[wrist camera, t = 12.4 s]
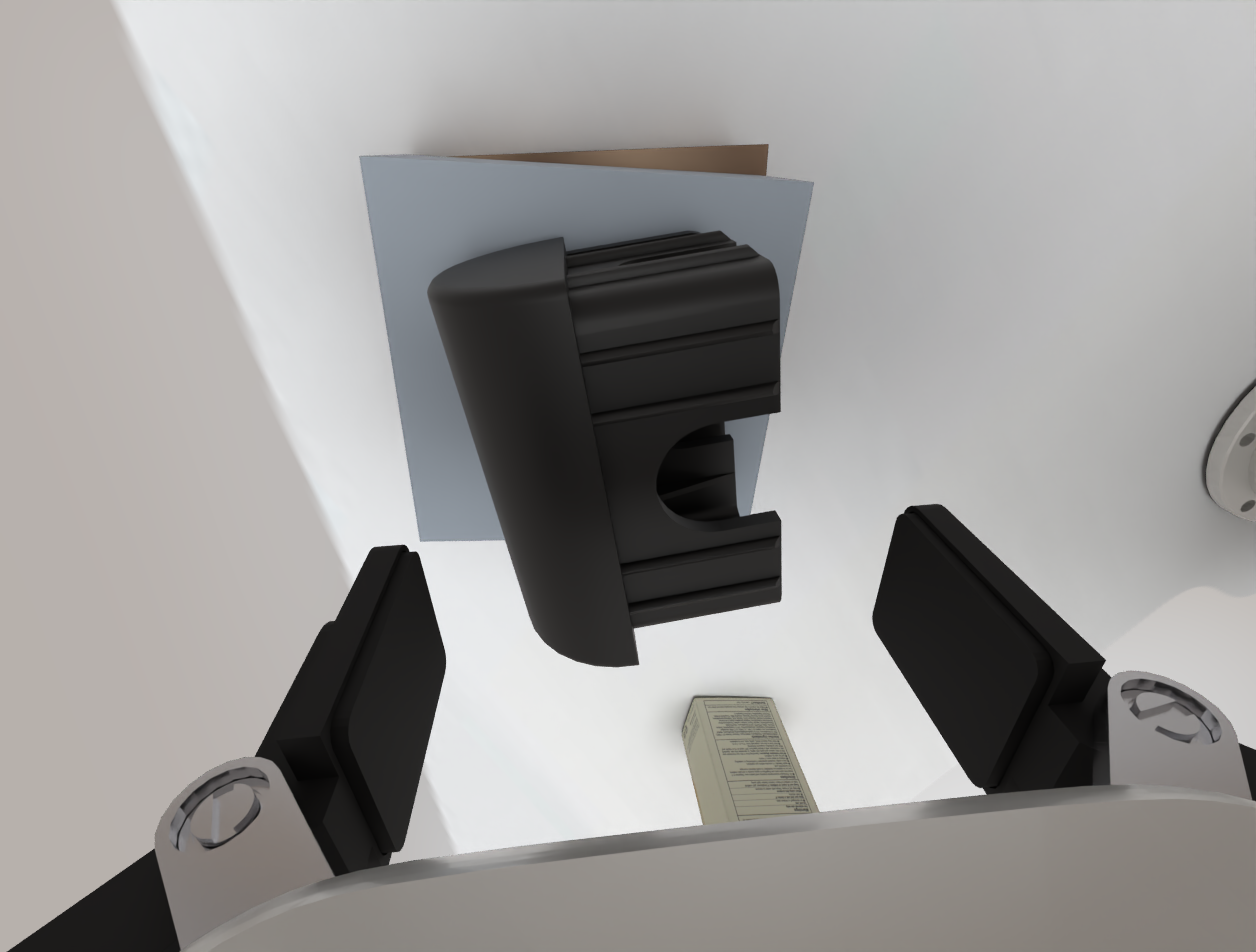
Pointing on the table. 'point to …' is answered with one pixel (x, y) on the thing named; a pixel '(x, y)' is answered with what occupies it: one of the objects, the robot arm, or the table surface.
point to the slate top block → (521, 214)
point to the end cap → (619, 426)
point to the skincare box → (743, 761)
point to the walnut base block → (659, 158)
